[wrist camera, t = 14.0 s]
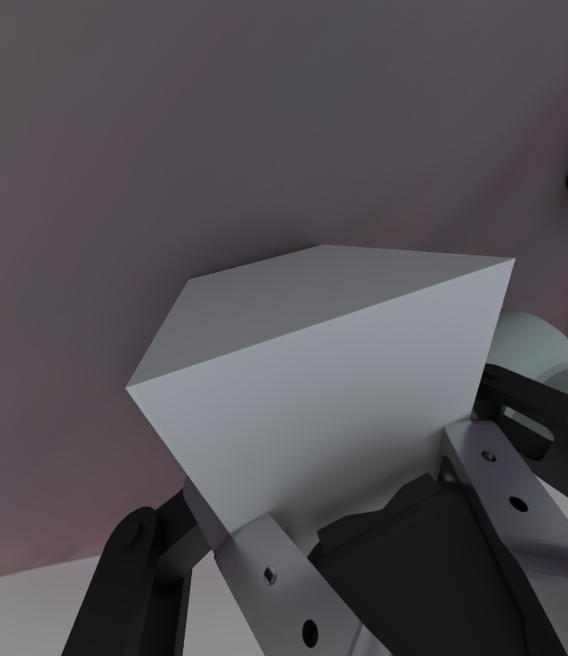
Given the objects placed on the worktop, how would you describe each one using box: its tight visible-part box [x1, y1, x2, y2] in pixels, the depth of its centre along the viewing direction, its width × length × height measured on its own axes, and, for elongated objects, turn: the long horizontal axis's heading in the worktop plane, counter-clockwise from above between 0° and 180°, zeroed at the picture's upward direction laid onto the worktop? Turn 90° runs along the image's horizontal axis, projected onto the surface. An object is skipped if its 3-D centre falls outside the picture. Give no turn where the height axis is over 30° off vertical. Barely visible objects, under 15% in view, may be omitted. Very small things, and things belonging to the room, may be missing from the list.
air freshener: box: [486, 308, 568, 441], centre depth 14 cm, size 11×8×10 cm
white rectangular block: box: [125, 245, 515, 558], centre depth 9 cm, size 12×7×8 cm, turn 12°
